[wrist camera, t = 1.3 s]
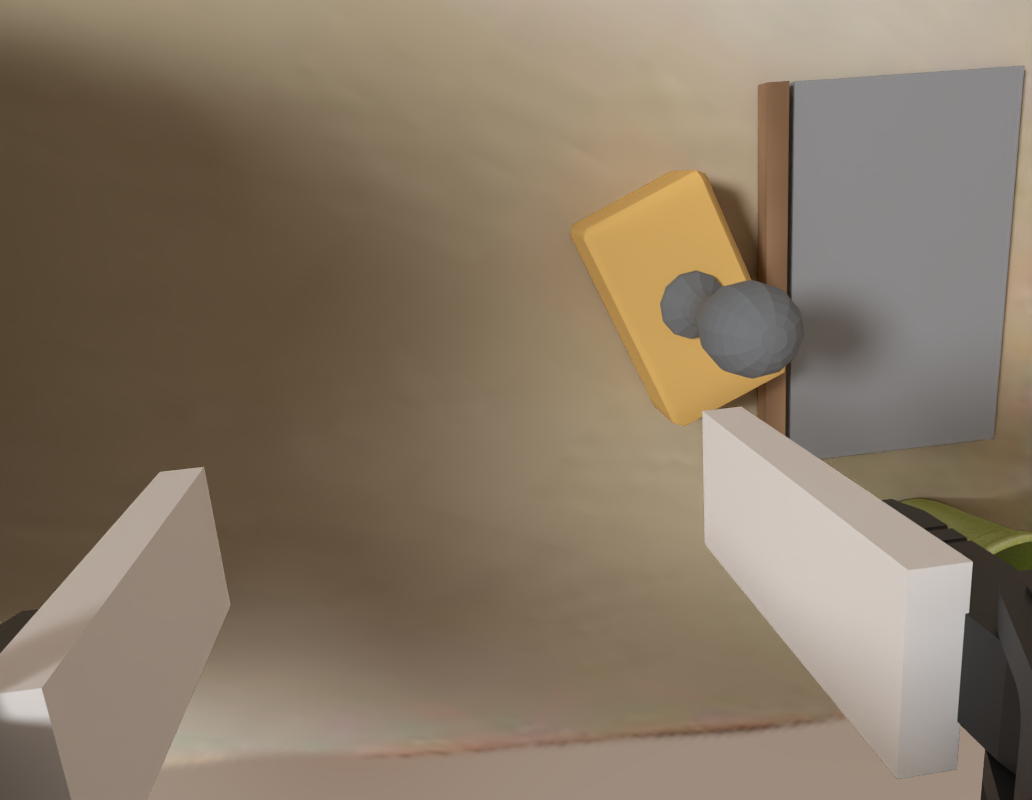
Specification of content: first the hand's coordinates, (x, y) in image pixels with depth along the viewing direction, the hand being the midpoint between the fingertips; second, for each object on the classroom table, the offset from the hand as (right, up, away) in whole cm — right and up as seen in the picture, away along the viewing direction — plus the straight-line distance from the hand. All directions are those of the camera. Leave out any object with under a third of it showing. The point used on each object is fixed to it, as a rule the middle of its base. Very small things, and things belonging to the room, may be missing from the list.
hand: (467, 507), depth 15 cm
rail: (+13, +8, +24) cm, 28 cm away
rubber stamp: (+8, +7, +24) cm, 26 cm away
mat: (+19, +8, +25) cm, 32 cm away
